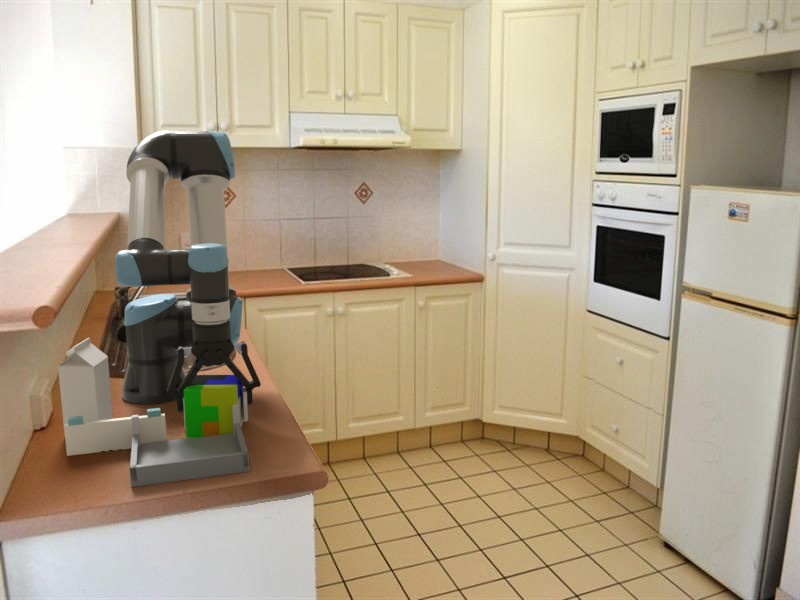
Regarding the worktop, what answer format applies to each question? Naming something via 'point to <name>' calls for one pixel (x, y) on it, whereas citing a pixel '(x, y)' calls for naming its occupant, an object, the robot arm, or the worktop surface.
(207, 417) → the puzzle toy
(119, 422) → the cover panel
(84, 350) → the milk carton
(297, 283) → the worktop surface
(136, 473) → the grey tray
